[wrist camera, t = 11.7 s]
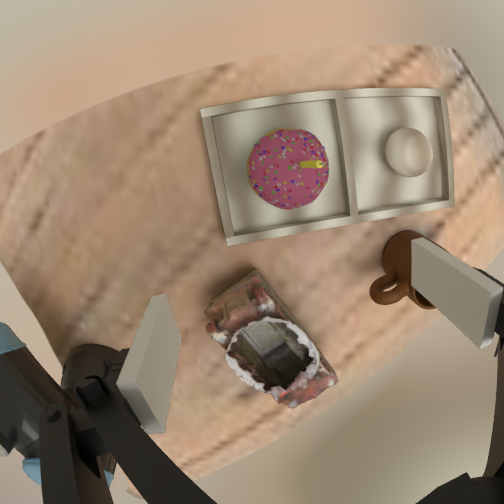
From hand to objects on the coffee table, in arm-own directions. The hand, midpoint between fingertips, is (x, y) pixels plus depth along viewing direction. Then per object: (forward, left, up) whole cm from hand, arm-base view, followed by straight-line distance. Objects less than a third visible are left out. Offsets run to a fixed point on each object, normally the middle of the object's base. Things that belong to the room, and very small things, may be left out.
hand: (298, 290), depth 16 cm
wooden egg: (+18, +4, -23) cm, 30 cm away
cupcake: (+3, +4, -23) cm, 24 cm away
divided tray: (+11, +4, -24) cm, 27 cm away
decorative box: (0, -17, -24) cm, 30 cm away
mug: (+16, -11, -24) cm, 31 cm away
